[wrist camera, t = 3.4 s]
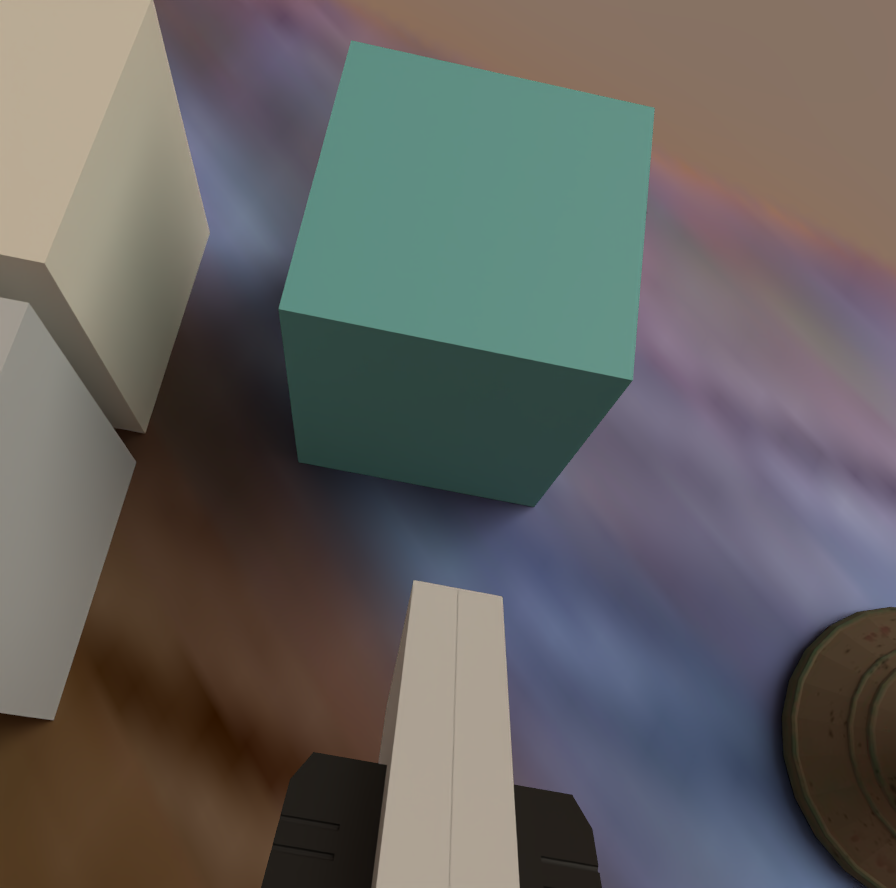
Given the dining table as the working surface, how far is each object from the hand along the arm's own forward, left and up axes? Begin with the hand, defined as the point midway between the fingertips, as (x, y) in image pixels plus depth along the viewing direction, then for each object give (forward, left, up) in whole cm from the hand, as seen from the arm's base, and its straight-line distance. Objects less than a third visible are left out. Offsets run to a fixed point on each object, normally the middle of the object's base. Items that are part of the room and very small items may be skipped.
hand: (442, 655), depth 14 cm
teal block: (-10, +5, -12) cm, 16 cm away
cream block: (-16, -6, -12) cm, 21 cm away
